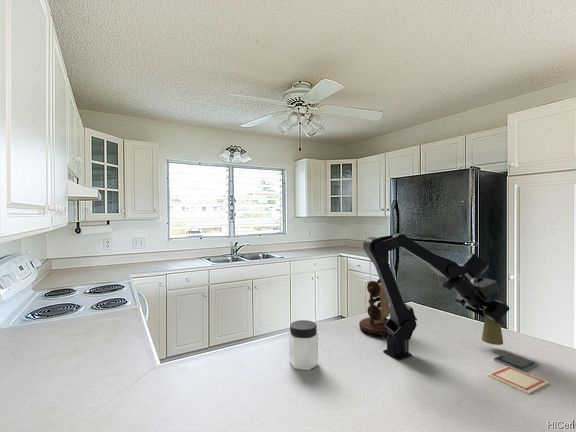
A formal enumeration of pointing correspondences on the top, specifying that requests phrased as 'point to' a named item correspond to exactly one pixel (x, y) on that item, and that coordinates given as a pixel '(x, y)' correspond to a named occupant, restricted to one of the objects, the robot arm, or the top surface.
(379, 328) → the brown wooden figurine
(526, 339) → the top surface
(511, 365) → the ink pad
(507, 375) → the print card
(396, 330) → the robot arm
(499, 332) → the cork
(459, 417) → the top surface
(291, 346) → the jar
